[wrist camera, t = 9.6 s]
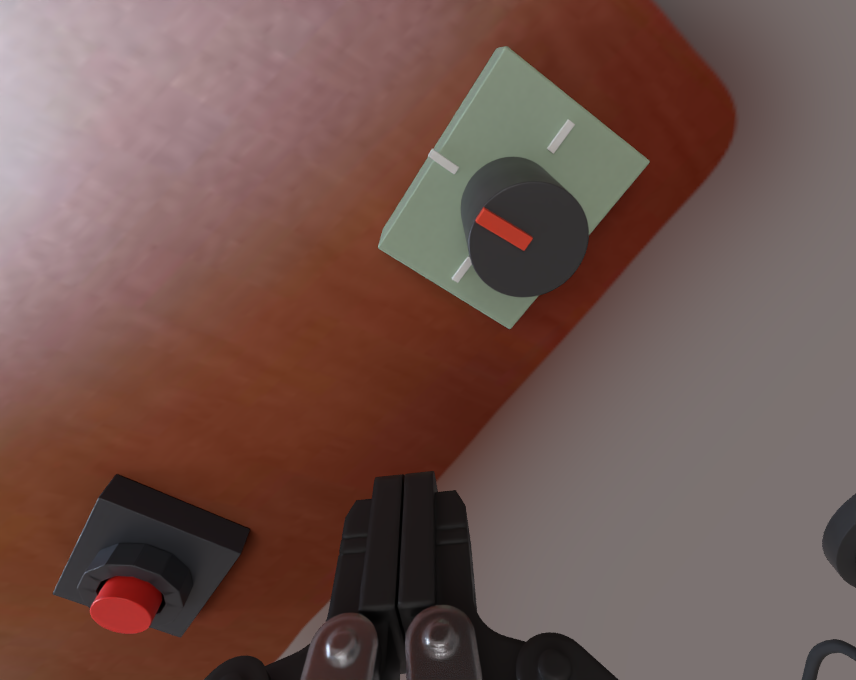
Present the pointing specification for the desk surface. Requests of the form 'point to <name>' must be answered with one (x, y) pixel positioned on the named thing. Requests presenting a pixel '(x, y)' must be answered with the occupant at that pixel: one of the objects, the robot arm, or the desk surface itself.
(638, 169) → the dial panel
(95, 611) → the button
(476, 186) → the dial
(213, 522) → the button base
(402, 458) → the desk surface
